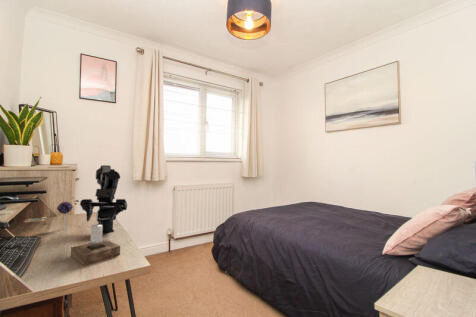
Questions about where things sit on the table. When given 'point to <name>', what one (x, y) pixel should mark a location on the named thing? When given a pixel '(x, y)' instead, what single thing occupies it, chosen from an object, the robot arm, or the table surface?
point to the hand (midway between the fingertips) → (99, 220)
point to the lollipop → (64, 209)
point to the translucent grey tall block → (96, 236)
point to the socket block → (94, 252)
